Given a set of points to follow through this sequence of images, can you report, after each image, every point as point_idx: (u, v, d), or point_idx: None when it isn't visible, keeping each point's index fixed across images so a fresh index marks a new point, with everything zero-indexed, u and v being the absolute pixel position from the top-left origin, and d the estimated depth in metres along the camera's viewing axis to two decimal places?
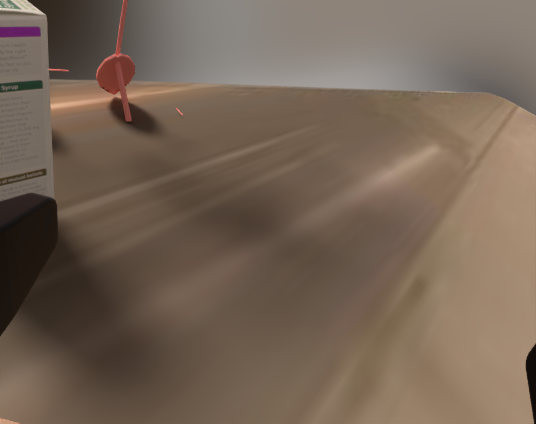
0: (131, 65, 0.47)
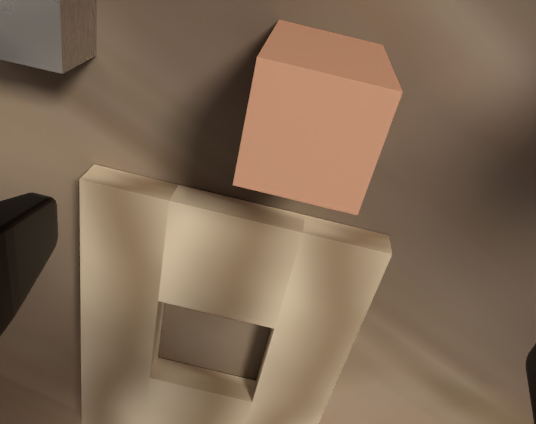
0: None
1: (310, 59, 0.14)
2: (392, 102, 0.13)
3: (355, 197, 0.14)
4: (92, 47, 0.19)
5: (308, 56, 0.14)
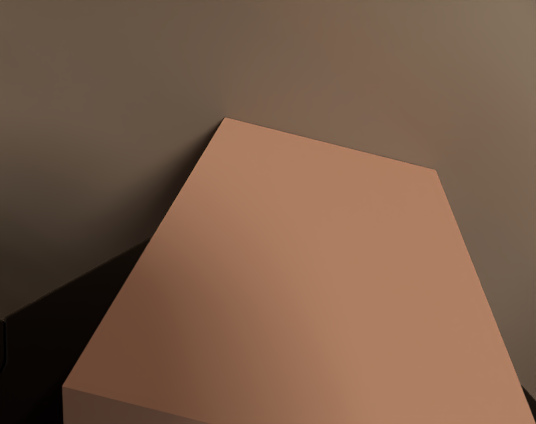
0: None
1: (262, 328, 0.05)
2: None
3: None
4: None
5: (259, 304, 0.05)
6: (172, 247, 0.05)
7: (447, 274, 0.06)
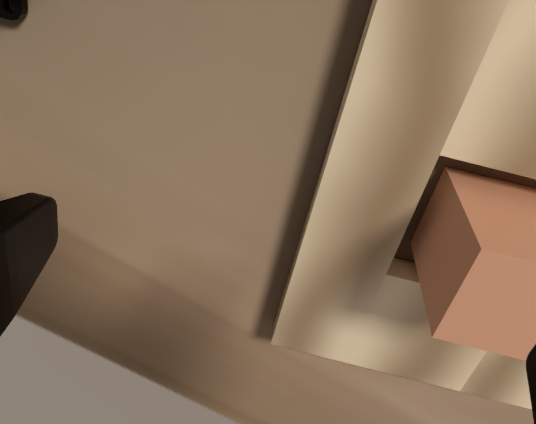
0: None
1: (515, 240, 0.16)
2: None
3: None
4: None
5: (509, 234, 0.16)
6: (474, 218, 0.16)
7: None
